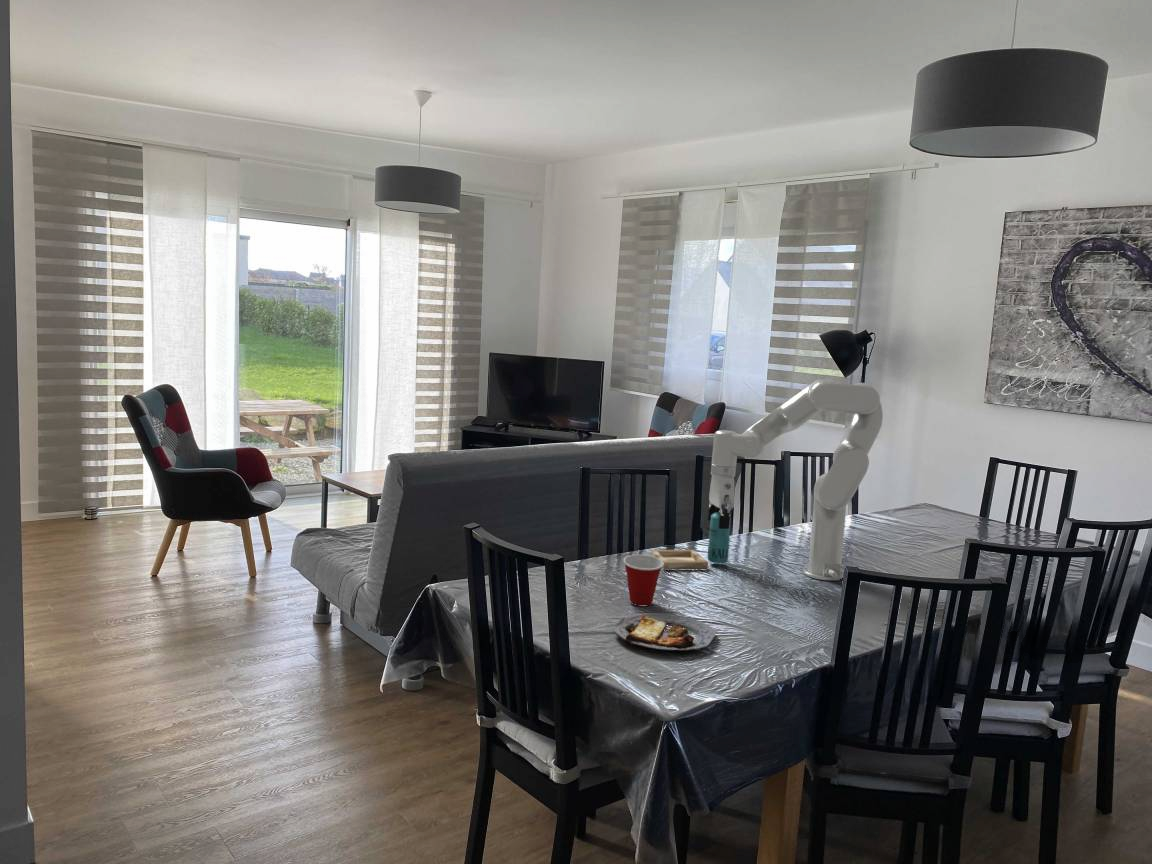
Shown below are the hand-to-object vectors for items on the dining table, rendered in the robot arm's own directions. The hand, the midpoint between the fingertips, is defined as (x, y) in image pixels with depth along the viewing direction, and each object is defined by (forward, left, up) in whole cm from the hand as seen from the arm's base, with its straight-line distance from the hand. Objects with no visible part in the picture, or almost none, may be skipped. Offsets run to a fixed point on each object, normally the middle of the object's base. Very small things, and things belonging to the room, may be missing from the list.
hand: (718, 524), depth 277 cm
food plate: (-59, +34, -14) cm, 70 cm away
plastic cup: (-34, +33, -13) cm, 50 cm away
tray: (+2, +11, -13) cm, 17 cm away
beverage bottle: (0, -1, -13) cm, 13 cm away
